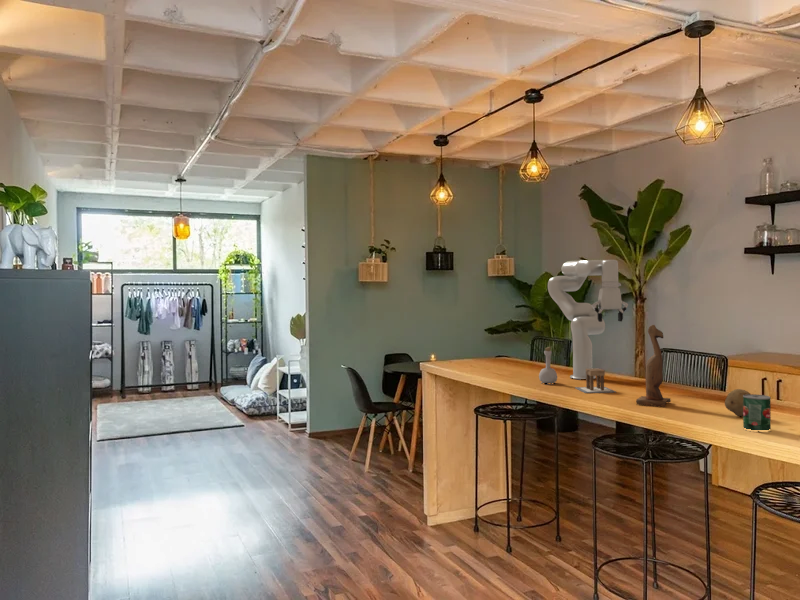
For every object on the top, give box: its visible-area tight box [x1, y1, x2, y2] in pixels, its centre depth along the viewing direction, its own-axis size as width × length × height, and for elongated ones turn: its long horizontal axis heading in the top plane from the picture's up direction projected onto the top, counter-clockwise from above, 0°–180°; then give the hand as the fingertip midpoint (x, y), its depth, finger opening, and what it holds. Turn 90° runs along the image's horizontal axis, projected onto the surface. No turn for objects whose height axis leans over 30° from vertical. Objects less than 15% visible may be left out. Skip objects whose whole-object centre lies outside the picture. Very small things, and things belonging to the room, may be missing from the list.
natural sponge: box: [724, 388, 751, 417], centre depth 228 cm, size 9×9×10 cm
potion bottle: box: [538, 346, 558, 385], centre depth 310 cm, size 9×9×18 cm
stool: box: [585, 368, 606, 390], centre depth 288 cm, size 6×6×9 cm
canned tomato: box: [742, 393, 772, 430], centre depth 208 cm, size 8×8×11 cm
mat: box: [574, 386, 617, 394], centre depth 288 cm, size 14×14×1 cm
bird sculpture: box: [635, 324, 672, 408], centre depth 254 cm, size 11×12×32 cm
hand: (610, 321), depth 303 cm, fingers open, 9 cm apart
